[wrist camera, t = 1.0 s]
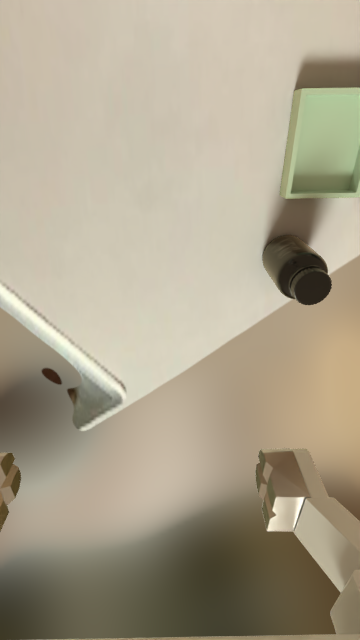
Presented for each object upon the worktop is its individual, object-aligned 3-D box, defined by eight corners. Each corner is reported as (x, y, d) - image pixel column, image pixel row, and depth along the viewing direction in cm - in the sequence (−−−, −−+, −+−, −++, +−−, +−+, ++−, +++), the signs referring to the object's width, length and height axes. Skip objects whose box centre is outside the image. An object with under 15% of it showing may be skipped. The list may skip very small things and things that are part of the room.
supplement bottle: (258, 275, 51) (279, 312, 41) (265, 233, 48) (290, 261, 37) (300, 276, 51) (331, 312, 41) (310, 234, 48) (347, 262, 38)
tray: (294, 90, 39) (302, 88, 36) (375, 89, 39) (388, 87, 36) (279, 194, 45) (285, 198, 42) (349, 193, 45) (359, 197, 43)
